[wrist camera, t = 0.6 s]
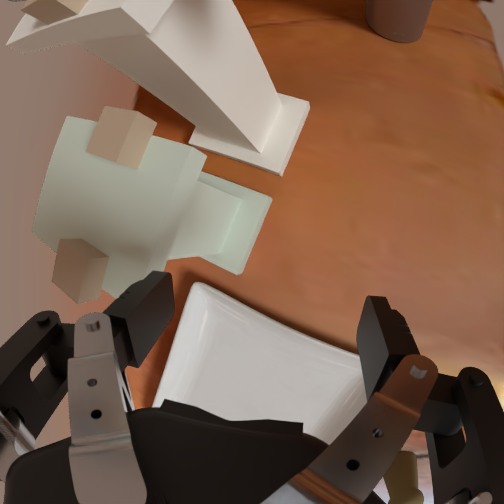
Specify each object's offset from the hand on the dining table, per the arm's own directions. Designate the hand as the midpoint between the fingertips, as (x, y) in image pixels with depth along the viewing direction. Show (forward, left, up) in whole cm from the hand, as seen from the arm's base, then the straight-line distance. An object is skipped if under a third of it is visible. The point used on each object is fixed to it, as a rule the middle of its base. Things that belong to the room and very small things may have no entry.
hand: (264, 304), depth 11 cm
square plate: (+21, +2, -25) cm, 32 cm away
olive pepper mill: (+23, +28, -24) cm, 43 cm away
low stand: (0, -14, -24) cm, 28 cm away
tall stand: (-13, -14, -24) cm, 30 cm away
